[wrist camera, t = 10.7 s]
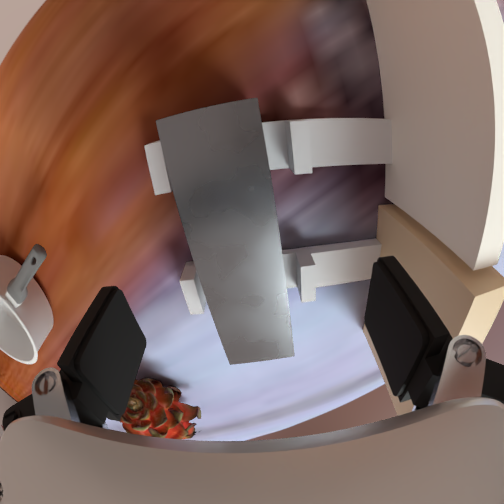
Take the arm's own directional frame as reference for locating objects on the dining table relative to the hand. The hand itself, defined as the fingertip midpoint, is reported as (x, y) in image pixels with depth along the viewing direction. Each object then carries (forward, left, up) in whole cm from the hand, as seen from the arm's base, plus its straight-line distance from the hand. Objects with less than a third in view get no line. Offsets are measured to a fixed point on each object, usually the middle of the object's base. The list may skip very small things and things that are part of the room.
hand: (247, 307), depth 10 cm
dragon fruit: (+13, +20, -10) cm, 26 cm away
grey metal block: (0, 0, -9) cm, 9 cm away
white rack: (-4, -2, -10) cm, 11 cm away
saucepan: (+22, +3, -10) cm, 25 cm away
